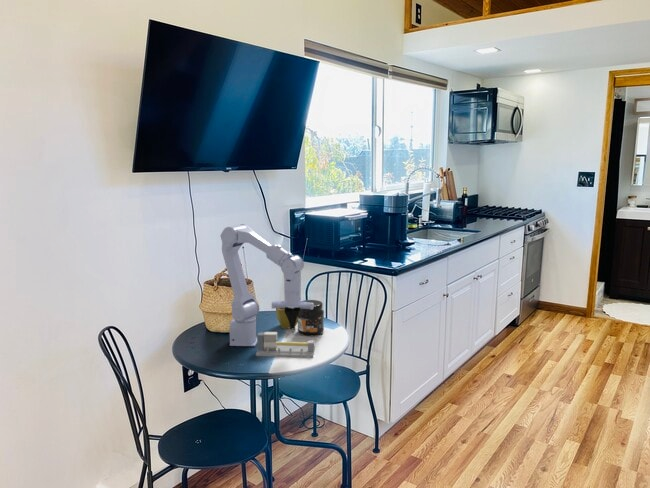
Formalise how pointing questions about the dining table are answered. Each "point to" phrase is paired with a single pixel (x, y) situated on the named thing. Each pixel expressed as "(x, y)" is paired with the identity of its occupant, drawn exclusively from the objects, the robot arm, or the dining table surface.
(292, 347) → the slider rail
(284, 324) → the flower pot
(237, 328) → the robot arm
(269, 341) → the sleeve
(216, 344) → the dining table surface
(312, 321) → the supplement container
